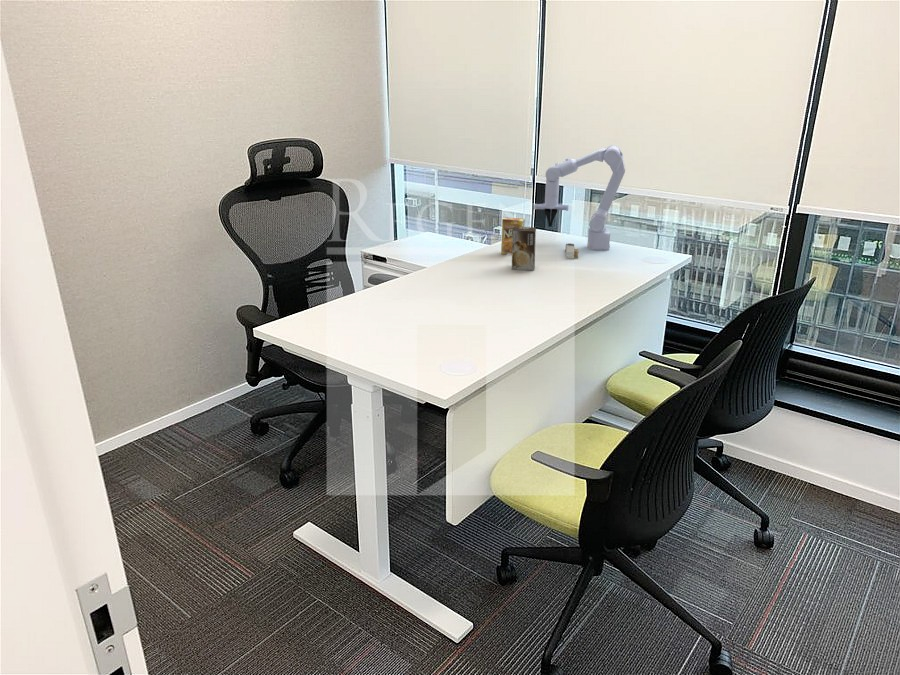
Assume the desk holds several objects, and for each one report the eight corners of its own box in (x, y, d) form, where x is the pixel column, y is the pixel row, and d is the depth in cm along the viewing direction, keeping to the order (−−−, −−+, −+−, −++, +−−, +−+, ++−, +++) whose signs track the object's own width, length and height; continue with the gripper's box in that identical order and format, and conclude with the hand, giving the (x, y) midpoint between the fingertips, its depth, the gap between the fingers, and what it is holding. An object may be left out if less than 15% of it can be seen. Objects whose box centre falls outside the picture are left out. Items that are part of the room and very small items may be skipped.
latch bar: (565, 249, 304) (565, 243, 303) (573, 250, 303) (574, 243, 302) (565, 258, 292) (566, 252, 291) (574, 258, 292) (574, 252, 291)
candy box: (500, 254, 302) (501, 219, 296) (503, 251, 306) (504, 216, 300) (521, 256, 299) (522, 220, 293) (523, 253, 303) (525, 218, 297)
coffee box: (535, 266, 288) (537, 227, 281) (534, 270, 282) (536, 231, 275) (512, 264, 289) (513, 226, 283) (511, 269, 283) (512, 230, 277)
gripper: (534, 196, 300) (532, 227, 306) (569, 197, 298) (566, 229, 303) (535, 192, 307) (533, 223, 312) (569, 193, 304) (567, 225, 310)
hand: (550, 226), depth 308 cm, fingers closed
